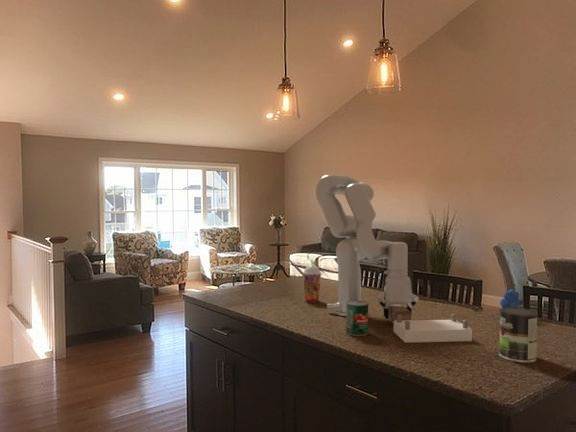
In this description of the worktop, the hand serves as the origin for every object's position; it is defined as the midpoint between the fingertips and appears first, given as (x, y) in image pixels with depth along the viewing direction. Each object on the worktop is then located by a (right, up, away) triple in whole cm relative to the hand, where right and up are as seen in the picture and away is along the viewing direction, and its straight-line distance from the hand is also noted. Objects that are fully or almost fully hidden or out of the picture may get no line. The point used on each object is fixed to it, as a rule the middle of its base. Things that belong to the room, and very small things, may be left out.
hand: (397, 317), depth 181 cm
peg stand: (+7, -2, -19) cm, 21 cm away
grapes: (+46, -2, +5) cm, 46 cm away
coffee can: (+27, -3, -41) cm, 49 cm away
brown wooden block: (0, -2, 0) cm, 2 cm away
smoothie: (-32, -1, +38) cm, 50 cm away
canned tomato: (-18, -2, -15) cm, 24 cm away
